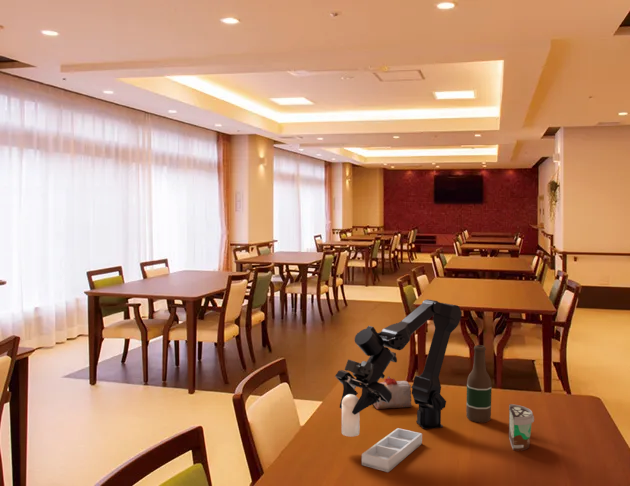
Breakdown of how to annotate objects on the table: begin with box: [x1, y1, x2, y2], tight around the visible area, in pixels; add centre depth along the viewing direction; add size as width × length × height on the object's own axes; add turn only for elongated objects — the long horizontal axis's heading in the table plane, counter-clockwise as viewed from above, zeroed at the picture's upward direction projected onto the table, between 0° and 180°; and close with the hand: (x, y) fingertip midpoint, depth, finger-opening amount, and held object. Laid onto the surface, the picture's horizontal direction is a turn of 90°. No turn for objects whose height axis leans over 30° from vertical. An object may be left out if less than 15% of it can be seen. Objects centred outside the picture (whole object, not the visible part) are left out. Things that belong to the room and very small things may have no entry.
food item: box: [372, 376, 413, 410], centre depth 201 cm, size 14×8×10 cm, turn 101°
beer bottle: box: [465, 344, 493, 423], centre depth 189 cm, size 8×8×24 cm
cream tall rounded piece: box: [341, 394, 361, 438], centre depth 163 cm, size 5×5×11 cm
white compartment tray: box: [361, 427, 423, 473], centre depth 162 cm, size 22×8×3 cm, turn 147°
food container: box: [508, 403, 535, 452], centre depth 168 cm, size 12×6×10 cm, turn 168°
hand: (346, 410), depth 162 cm, fingers closed on cream tall rounded piece, 5 cm apart
